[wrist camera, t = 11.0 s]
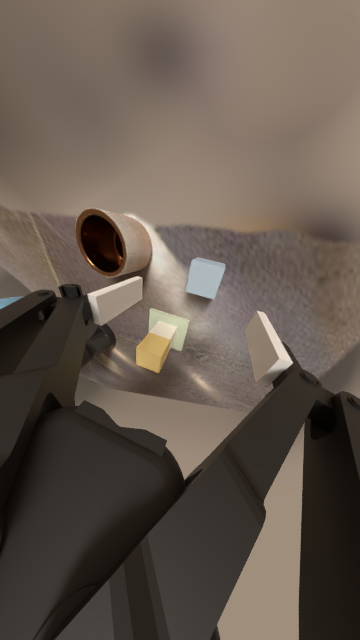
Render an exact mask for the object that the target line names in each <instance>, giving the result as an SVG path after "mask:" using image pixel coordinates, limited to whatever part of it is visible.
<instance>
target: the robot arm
mask: <svg viewBox="0 0 360 640" xmlns="http://www.w3.org/2000/svg"><path fill="white" fill-rule="evenodd" d="M142 285H143V278H142V277H138V276H136V277H133V278H130V279H128V280H125V281H122V282H119V283H117V284H114V285H111V286H108V287H106V288H103V289H100V290H98V291H95V292H92V293H89V294H87V295H84V296H83V294H82V290H81V286H79V285H77V284H65V285H61V286H59V290H60V293H61V295H62V298H61V297H56V295H55V292H54V291H52V290H39V291H35V292H32V293H30V294H28V295H27V296H25V297H11V298H4V299H0V640H220V636H219V632H218V627H217V623H218V621H219V619H220V616H221V614H222V612H223V610H224V608H225V606H226V603H227V602H228V599H229V597H230V595H231V593H232V591H233V589H234V587H235V584H236V582H237V580H238V578H239V576H240V574H241V572H242V570H243V567H244V565H245V563H246V561H247V559H248V557H249V555H250V553H251V550H252V548H253V546H254V544H255V542H256V540H257V538H258V536H259V533H260V531H261V529H262V527H263V524H264V521H265V517H266V510H265V507H264V499H265V497H266V495H267V493H268V491H269V489H270V487H271V485H272V483H273V481H274V479H275V477H276V475H277V474H278V472H279V470H280V468H281V466H282V464H283V462H284V460H285V458H286V456H287V454H288V452H289V451H290V449H291V447H292V445H293V443H294V441H295V439H296V437H297V435H298V433H299V431H300V429H301V427H302V426H303V424H304V422H305V429H304V461H303V491H302V522H301V553H300V554H301V555H300V557H301V558H300V584H299V585H300V586H299V640H360V399H359V398H357V397H356V396H354V395H352V394H350V393H348V392H344V391H343V392H340V393H338V394H336V395H335V394H333V393H331V392H329V391H328V390H326V389H324V388H322V385H321V383H320V381H319V380H318V379H317V378H316V377H315V376H313V375H312V374H311V373H309V372H307V371H306V370H303V369H302V368H301V366H300V365H299V363H298V361H297V360H296V358H295V357H294V355H293V353H292V352H291V350H290V348H289V347H288V346H287V345H286V344H285V343H284V342H282V341H280V339H279V337H278V336H277V334H276V332H275V330H274V329H273V327H272V325H271V323H270V321H269V320H268V318H267V316H266V314H265V313H263V312H260V311H256V313H255V315H254V316H253V318H252V320H251V321H250V323H249V325H248V326H247V328H246V330H245V335H246V340H247V345H248V349H249V354H250V358H251V363H252V367H253V372H254V376H255V381H256V383H257V384H259V385H262V386H265V387H268V386H269V385H270V384H271V383H273V386H274V389H272V390H271V391H270V392H269V393H268V394H267V395H266V396H265V398H264V399H263V400H262V401H261V402H260V403H259V404H258V405H257V406H256V407H255V408H254V409H253V410H252V411H251V412H250V413H249V414H248V415H247V416H246V417H245V418H244V420H243V421H242V422H241V423H240V424H239V425H238V426H237V427H236V428H235V429H234V430H233V431H232V432H231V433H230V434H229V435H228V436H227V437H226V438H225V439H224V440H223V441H222V442H221V443H220V445H219V446H218V447H217V448H216V449H215V450H214V451H213V452H212V453H211V454H210V455H209V456H208V457H207V458H206V459H205V460H204V461H203V462H202V463H201V464H200V465H199V466H198V467H197V468H196V469H195V470H194V471H193V472H192V473H191V474H190V475H189V476H188V477H187V478H186V479H185V480H184V478H183V475H182V472H181V469H180V467H179V465H178V463H177V461H176V460H175V458H174V456H173V455H172V453H171V452H170V451H169V450H168V449H167V448H166V447H165V445H166V442H167V440H165V439H163V438H161V437H159V436H157V435H155V434H153V433H150V432H149V431H147V430H143V429H134V428H125V427H119V426H118V425H117V424H116V423H115V422H114V421H113V420H112V419H111V418H110V416H109V415H108V414H106V412H105V411H104V410H103V409H101V408H99V407H97V406H95V405H93V404H91V403H89V402H87V401H83V402H82V403H81V404H80V405H79V406H75V400H74V396H75V391H76V386H77V382H78V376H79V372H80V369H81V368H82V367H83V366H84V365H86V364H87V363H88V362H89V361H90V360H91V359H92V358H94V357H95V356H97V355H99V354H101V353H103V352H105V351H108V350H109V349H111V348H112V347H113V346H114V345H115V336H114V334H113V332H112V331H111V329H110V328H109V327H108V326H107V325H106V324H105V323H107V322H108V321H110V320H111V319H113V318H114V317H116V316H117V315H119V314H120V313H122V312H123V311H125V310H126V309H128V308H129V307H131V306H132V305H134V304H135V303H137V302H138V301H140V300H141V299H142Z"/></svg>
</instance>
